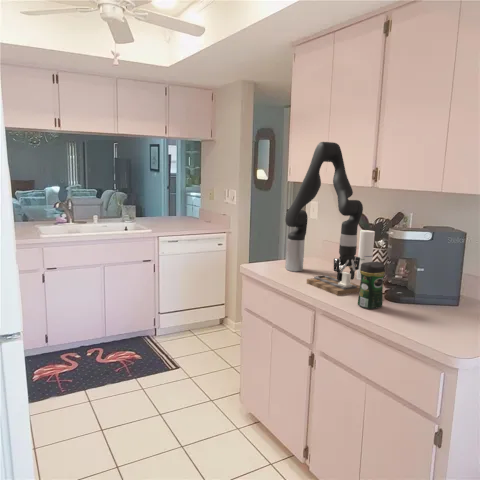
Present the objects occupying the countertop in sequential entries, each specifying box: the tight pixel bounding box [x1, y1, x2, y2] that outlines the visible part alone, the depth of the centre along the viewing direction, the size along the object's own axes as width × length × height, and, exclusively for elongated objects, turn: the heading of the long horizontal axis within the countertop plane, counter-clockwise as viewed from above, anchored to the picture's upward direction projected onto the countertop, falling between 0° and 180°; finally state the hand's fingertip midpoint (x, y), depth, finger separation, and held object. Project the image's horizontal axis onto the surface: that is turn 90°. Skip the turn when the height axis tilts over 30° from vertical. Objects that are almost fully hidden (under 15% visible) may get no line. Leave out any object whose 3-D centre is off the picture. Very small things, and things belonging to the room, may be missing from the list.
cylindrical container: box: [355, 229, 376, 281], centre depth 209 cm, size 7×7×25 cm
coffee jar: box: [357, 260, 386, 310], centre depth 165 cm, size 10×8×19 cm
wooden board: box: [306, 274, 360, 296], centre depth 193 cm, size 22×16×3 cm
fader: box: [338, 271, 352, 288], centre depth 187 cm, size 5×4×6 cm
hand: (345, 279), depth 187 cm, fingers open, 6 cm apart
